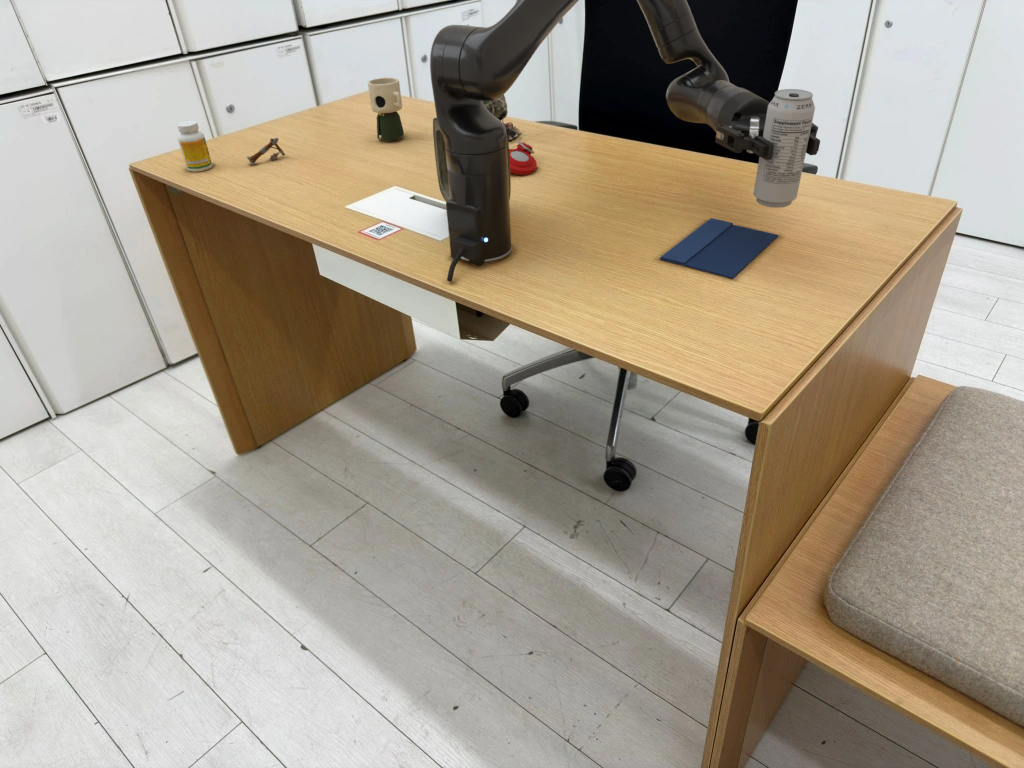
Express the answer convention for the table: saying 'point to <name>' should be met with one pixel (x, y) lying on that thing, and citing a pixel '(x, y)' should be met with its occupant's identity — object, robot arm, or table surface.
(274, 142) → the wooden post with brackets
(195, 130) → the supplement bottle
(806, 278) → the table surface
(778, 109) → the energy drink can
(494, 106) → the plant with pod
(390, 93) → the character mug
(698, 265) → the open blue folder
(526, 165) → the tracker holder
